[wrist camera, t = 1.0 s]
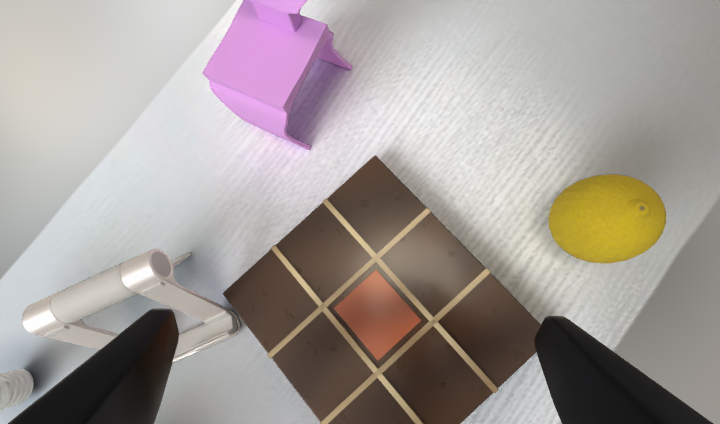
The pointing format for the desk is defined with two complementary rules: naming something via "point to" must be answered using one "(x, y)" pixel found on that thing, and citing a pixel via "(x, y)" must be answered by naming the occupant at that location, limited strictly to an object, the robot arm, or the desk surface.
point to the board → (383, 310)
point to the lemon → (607, 218)
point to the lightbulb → (15, 387)
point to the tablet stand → (118, 283)
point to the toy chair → (268, 61)
